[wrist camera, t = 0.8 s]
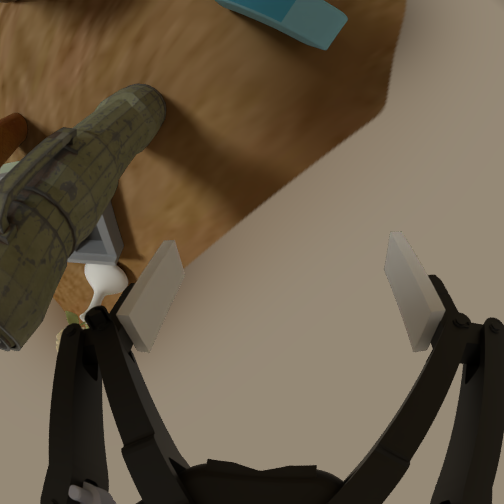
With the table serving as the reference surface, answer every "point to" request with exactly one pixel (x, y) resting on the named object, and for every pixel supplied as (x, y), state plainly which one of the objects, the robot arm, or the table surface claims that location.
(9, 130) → the disposable coffee cup
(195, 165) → the table surface
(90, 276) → the flower in vase
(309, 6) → the data package
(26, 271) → the thermos
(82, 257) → the box
